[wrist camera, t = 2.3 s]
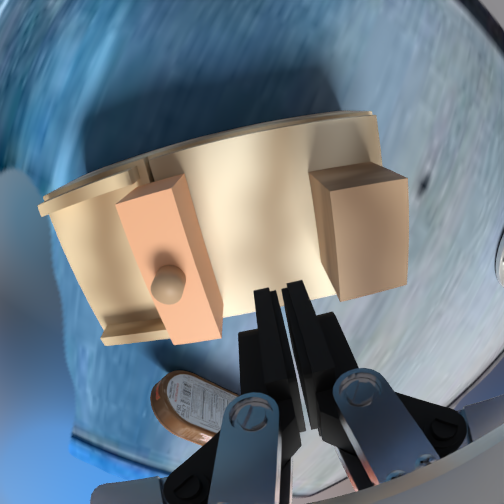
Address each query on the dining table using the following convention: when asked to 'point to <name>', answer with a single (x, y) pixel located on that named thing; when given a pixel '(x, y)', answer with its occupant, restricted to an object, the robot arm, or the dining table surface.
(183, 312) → the peach boxy piece
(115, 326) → the toolbox
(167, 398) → the tin
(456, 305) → the dining table surface
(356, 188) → the lid
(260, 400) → the robot arm
